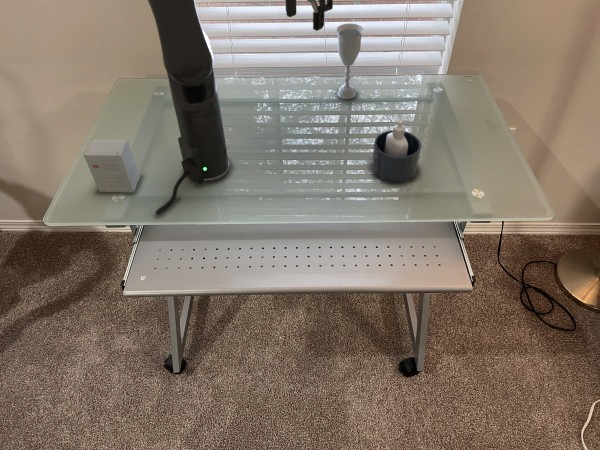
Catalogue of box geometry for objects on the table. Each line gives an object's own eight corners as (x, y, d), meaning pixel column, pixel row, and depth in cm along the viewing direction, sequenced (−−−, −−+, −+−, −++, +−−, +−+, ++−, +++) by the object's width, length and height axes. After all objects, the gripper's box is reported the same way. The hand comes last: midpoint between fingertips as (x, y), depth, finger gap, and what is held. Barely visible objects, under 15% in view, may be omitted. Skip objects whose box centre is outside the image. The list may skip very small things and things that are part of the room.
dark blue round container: (395, 189, 110) (399, 164, 105) (362, 167, 116) (364, 142, 111) (425, 169, 115) (430, 144, 110) (392, 149, 120) (395, 124, 115)
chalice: (357, 102, 135) (361, 37, 122) (332, 100, 136) (334, 35, 123) (360, 88, 140) (365, 24, 127) (336, 85, 141) (338, 22, 128)
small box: (141, 176, 115) (128, 139, 107) (133, 193, 111) (120, 155, 103) (106, 175, 115) (92, 138, 108) (98, 192, 111) (82, 154, 104)
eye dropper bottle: (385, 174, 113) (391, 130, 104) (382, 158, 117) (388, 114, 108) (404, 174, 113) (412, 129, 104) (401, 158, 117) (408, 114, 108)
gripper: (264, -68, 96) (269, 16, 107) (314, -49, 88) (313, 39, 100) (294, -76, 99) (296, 6, 111) (345, -59, 91) (341, 28, 103)
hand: (304, 22), depth 105 cm, fingers open, 8 cm apart
